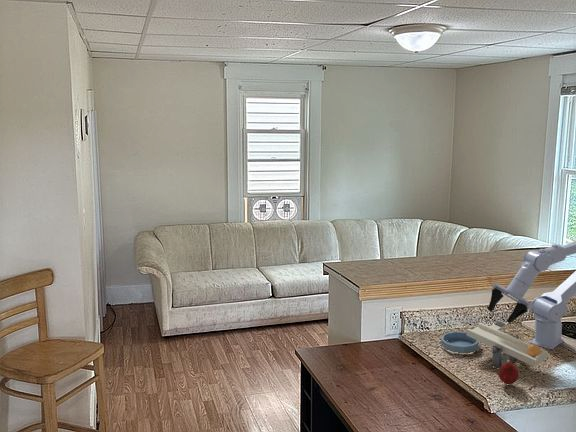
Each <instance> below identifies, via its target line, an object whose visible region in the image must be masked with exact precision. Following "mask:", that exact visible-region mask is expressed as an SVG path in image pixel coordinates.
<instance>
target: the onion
mask: <svg viewBox="0 0 576 432" xmlns="http://www.w3.org/2000/svg"><path fill="white" fill-rule="evenodd" d="M497 371H498V372H497V374H498V379H500V381H501V382H502V383H503V382H504V384H505V383H506V384H510V385H513V384H514V383H516V382H518V380H519V377H520V375H519V374H520V373H519V370H518V368H517V366H516V365H515V364H513V363H511V361H510V360H507V362H506V363H505V364H503V365H501V367H500V368H499V370H498V369H497ZM506 384H505V385H506Z"/></svg>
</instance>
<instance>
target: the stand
mask: <svg viewBox="0 0 576 432" xmlns="http://www.w3.org/2000/svg"><path fill="white" fill-rule="evenodd" d="M509 335H510V336H513V337H515V338H517V339H520V338H519V335H518V334H509ZM491 351H492V361H491V363H489V367H490V366H494V367H496V368H500V367H501V365H503V364H505V363H506V362H507V360H510V361H511V363H512V364H513V363H515V362H517V360H518V359H517V358H515V357H512V356H510V355H508V354H506V353H504V354H503V355H502V353H503V352H502V347H499V346H496V345H494V346H493V347H492V350H491Z"/></svg>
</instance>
